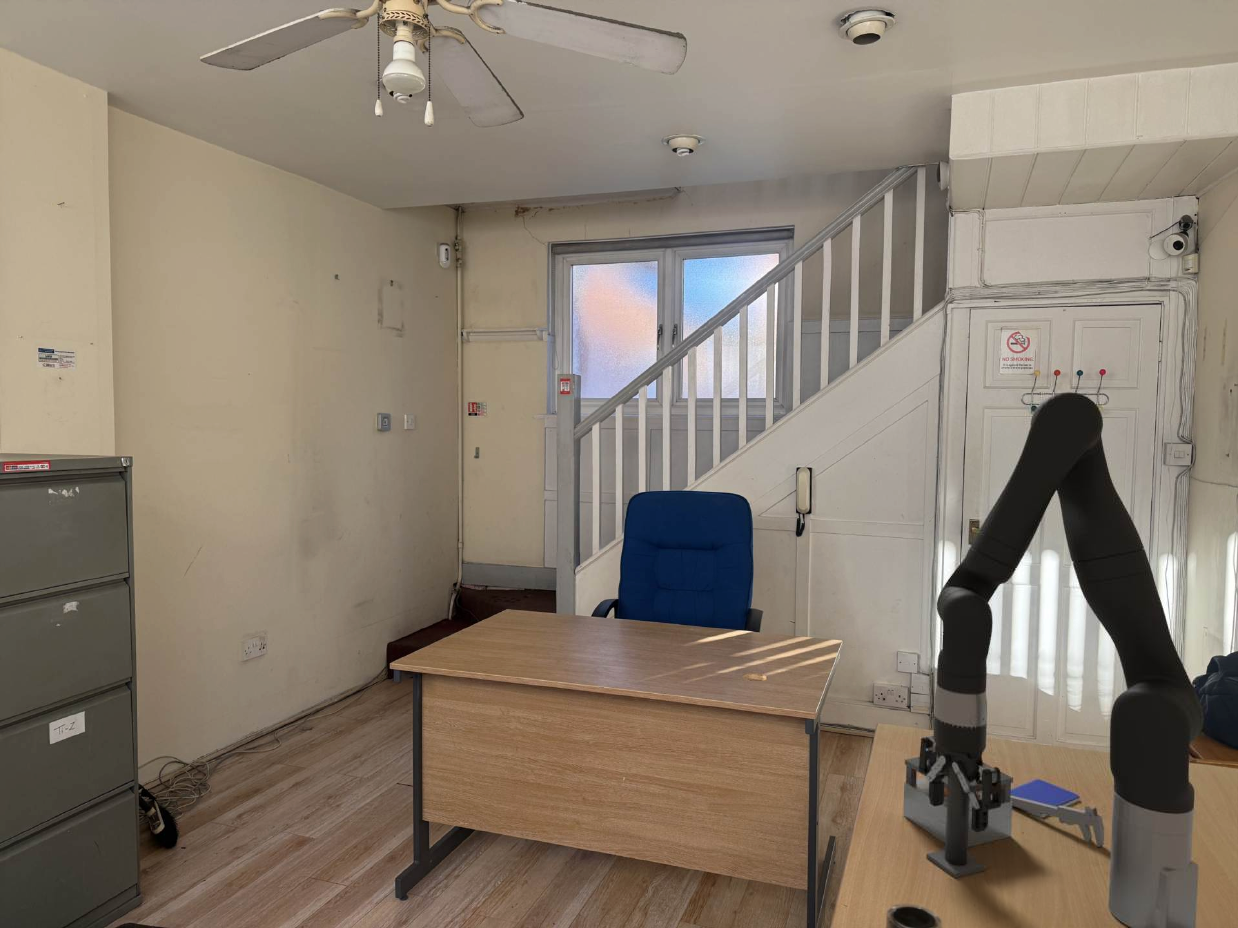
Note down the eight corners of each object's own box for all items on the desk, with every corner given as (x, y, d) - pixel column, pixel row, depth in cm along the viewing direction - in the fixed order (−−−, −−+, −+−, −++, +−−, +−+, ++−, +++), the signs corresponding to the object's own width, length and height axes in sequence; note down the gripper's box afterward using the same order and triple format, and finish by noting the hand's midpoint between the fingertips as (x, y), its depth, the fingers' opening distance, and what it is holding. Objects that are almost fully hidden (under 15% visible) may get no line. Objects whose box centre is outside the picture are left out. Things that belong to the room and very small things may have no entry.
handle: (971, 863, 122) (975, 769, 121) (955, 867, 121) (959, 772, 120) (955, 852, 125) (959, 760, 124) (940, 856, 124) (944, 764, 123)
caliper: (1103, 848, 128) (1105, 810, 128) (1100, 849, 128) (1101, 812, 128) (989, 796, 146) (990, 762, 146) (986, 797, 145) (987, 764, 145)
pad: (985, 869, 121) (985, 866, 121) (955, 877, 119) (955, 874, 119) (955, 849, 127) (955, 846, 127) (926, 857, 125) (926, 853, 125)
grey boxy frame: (1010, 836, 131) (1013, 777, 131) (955, 849, 127) (957, 789, 126) (956, 803, 143) (957, 749, 142) (903, 815, 138) (904, 759, 138)
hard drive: (1041, 811, 138) (1080, 794, 144) (998, 792, 145) (1036, 777, 151) (1041, 820, 138) (1079, 803, 144) (997, 801, 145) (1036, 785, 151)
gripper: (1016, 728, 117) (1012, 835, 117) (944, 697, 130) (941, 792, 131) (978, 736, 114) (974, 844, 115) (908, 702, 127) (905, 800, 128)
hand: (956, 816), depth 123 cm, fingers open, 8 cm apart
